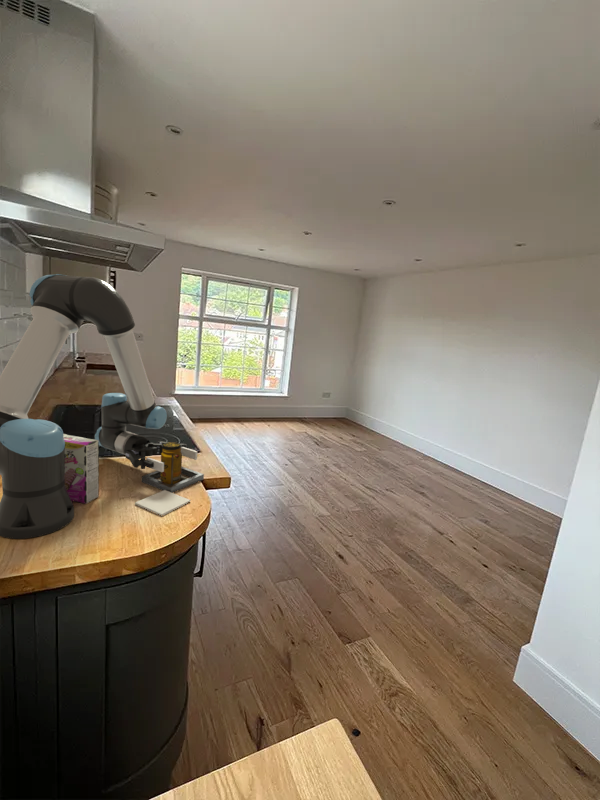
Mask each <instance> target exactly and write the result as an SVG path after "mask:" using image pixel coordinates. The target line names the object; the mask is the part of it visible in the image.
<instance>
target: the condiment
mask: <svg viewBox="0 0 600 800" xmlns="http://www.w3.org/2000/svg"><path fill="white" fill-rule="evenodd" d="M168 442H169V441H168ZM180 444H181V443H179V442H175V441H173V442H169V443H165V444H163V450H162V451H163V452H162V454H161V455H160V461H161V462H163V463H164V472H161V477H160V479H158V480H159V481H162V482H164V483H167V484H169V485H174V484H176V483H178V482H181V481H183V480H186V479H188V478H189V477H186V476H184V475H183V474H181V467H183V466H182V465H183V464H182V463H183V462H182V460H183V456H182V453H181V445H180Z"/></svg>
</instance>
